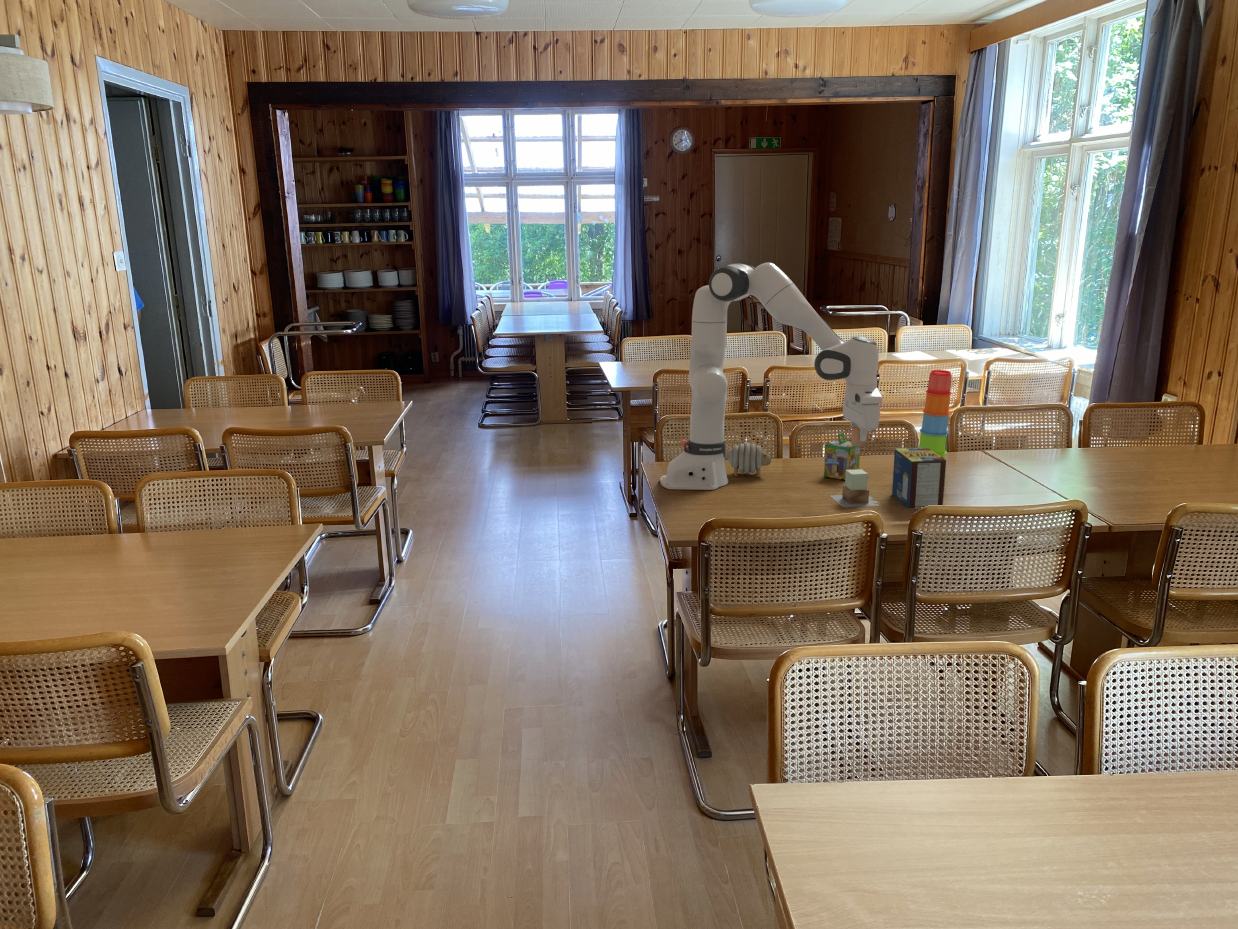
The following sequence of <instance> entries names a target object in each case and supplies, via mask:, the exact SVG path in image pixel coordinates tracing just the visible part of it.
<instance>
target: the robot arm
mask: <svg viewBox="0 0 1238 929" xmlns="http://www.w3.org/2000/svg"><path fill="white" fill-rule="evenodd" d="M752 296H754V297H755V298H756V299H757V300H758V301H759V302H760V304H762V306H763V307H764V308H765V310H766V311H767V313H768V314H769V315H770V316H771V317H772V318H773V319H774V320H776V321H777V322H779V323H780V324H782V325H786V326H792V327H794V328H797V329H799V330H802V331H803V332H804V333H805V334H807V335H808V336H809V337H810V338H811V339H812V340H813V342H814V343H815V344H816V345H817V347H819V348H820V350H821V351H820V352H819V353H818V354H817V355H816V357H815V359H814V363H813V364H814V365H813V366H814V370H815V372H816V374H817V375H818V376H819V377H820V378H821V379H823V380H824V381H825V380H826V381H836V380H843V379H844V380H845V381H846V382H845V383H846V384H845V394H844V398H843V406H842V416H843V417H844V418H845V419H847V420H848V421H850V423H849V424H850V429H851V430H852V427H856V426H860V430H861V431H860V434H859V440H860V441H866V442H867V439H866V435H868V433H869V431H876V430H878V427H879V424H880V415H881V406H880V404H882V402H883V396H882V394H881V393H880V392H879V391H880V390H879V389H878V380H877V378H878V377H877V373H878V371H879V358H880V357H879V347H878V343H877V342H876V341H875V340H874V339H872V338H870V337H865V336H852V337H851V338H849V339H848V340H844V339H843V338H841V337H840V336H839V335H838V334H837V333H836V332H835V331H834V330H833V329H832V328H831V326H830V325H829V324H828V323H827V322H826V321H825V320H824V319H823V317H822V316H820V314H819V313H818V312H817V311H816V310H815V309H814V308H813V306H812V305H811V304H810V303H809V302H808V300H807V298H806V297H805V296H804V294H803V293H802V292H801V291H800V290H799V288H798V287H797V286H796V284H795V283H794V282H793V281H792V280H791V279H790V277H789V276H788V275H787V274H786V273H785V272H784V271H783V270H782V269H781V268H780V267H778V266H777V265H776V264H775V263H773V262H764V263H761V264H759V265H757V266H756V267H754V266H753V265H751V264H748V263H742V262H741V263H730V264H728V265H723V266H720V267H718V268H716V269H715V270H714V271H713V272H712V273H711V274H710V277H709V279H708V284H707V285H703V286H701V287H700V288H698V289H696V291H695V295H694V298H693V305H692V314H691V342H690V353H689V354H690V355H689V365H688V366H689V367H688V369H689V371H688V384H689V387H690V388H691V408H690V409H691V410H690V416H689V418H690V420H689V421H690V424H689V428H690V430H689V433H690V434H689V439H688V440H686V439H681V441H680V445H681V446H682V447H683V451H682V452H681V453H680V454H678V456H676V457H675V458H673V459H672V460H671V461H669V463H668V466H667V469H666V474H665V475H661V477H660V478H659V483H660V485H661V486H662V487H663V488H664V489H667V490H690V491H692V490H694V491H695V490H697V491H698V490H699V491H701V490H703V491H704V490H705V491H708V490H709V491H711V490H713V491H714V490H716V489H718V488H721V487H723V486H726V485H728V484H729V479H728V476H727V472H726V471H727V470H726V462H725V461H726V459H724V457H725V455H726V451H727V450H726V448H727V447H726V445H727V444H726V440H725V418H726V416H725V414H726V409H727V408H726V407H727V399H728V398H727V397H728V386H729V385H728V379H727V377H726V375H725V373H724V361H725V355H726V348H727V333H728V332H727V330H728V329H727V326H728V311H729V310H728V309H729V305H730V304H731V303H732V302H736V301H741V300H743V299H747V298H750V297H752Z"/></svg>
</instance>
